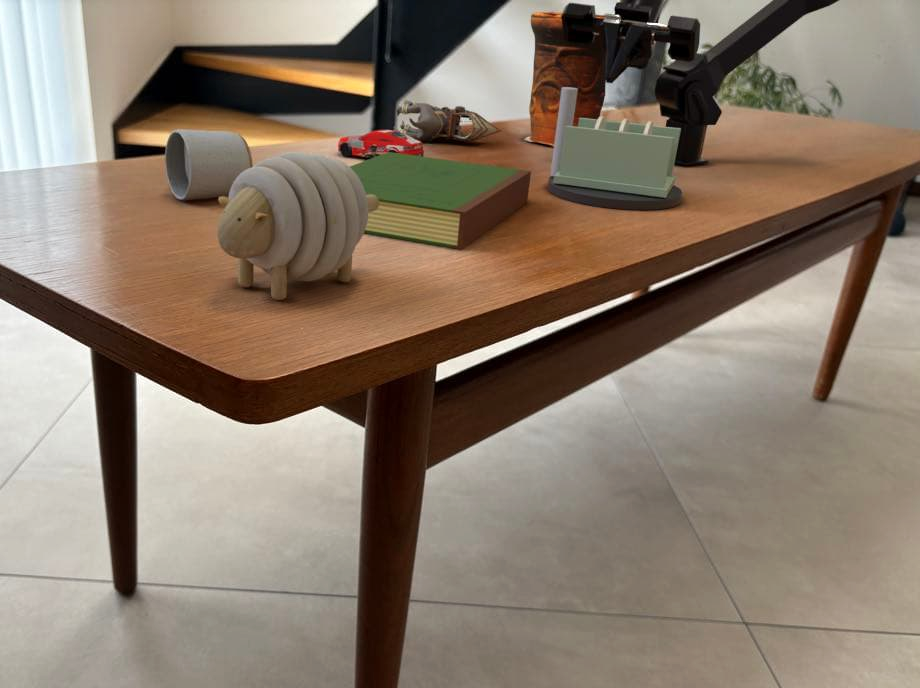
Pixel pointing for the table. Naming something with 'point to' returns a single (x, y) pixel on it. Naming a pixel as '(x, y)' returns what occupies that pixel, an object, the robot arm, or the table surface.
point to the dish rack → (612, 153)
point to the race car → (379, 144)
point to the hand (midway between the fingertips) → (608, 81)
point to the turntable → (614, 197)
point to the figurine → (443, 122)
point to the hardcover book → (439, 197)
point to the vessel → (563, 76)
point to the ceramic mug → (205, 162)
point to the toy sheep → (294, 219)
